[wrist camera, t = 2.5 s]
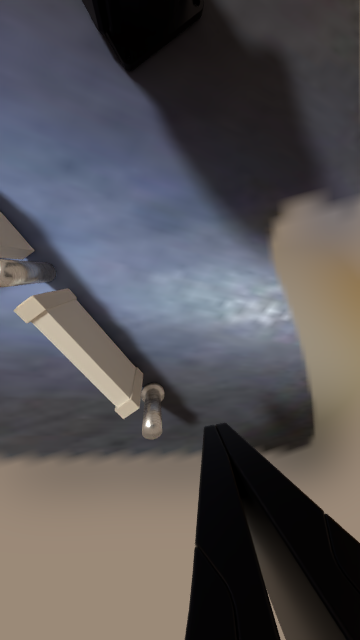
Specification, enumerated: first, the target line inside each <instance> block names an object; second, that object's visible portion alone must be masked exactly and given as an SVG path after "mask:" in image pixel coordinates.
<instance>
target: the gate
mask: <svg viewBox="0 0 360 640" xmlns="http://www.w3.org/2000/svg"><path fill="white" fill-rule="evenodd" d="M76 299H77V297H76V296H75V295H74V294H73V293H72V292H71V290H70V289H69V288H68V289H62V290H57V291H52V292H47V293H43V294H38V295H33V296H31V297H30V298H28V299H27V300H25V301H24V302H23V303H21V304H20V305H19V306H17V308H16V309H15V310H14V311H15V312H16V313H17V314H18V315H19V316H20V317H21V318H22V319H23V320H24V321H25V322H26V323H29V322H32V323H33V324H34V325H35V326H36V327H37V328H38V329H39V330H40V331H41V332H42V333H43V334H44V335H45V336H46V337H47V338H48V339H49V340H50V341H51V342H52V343H53V344H54V345H55V346H56V347H57V348H58V349H59V350H60V351H61V352H62V353H63V354H64V355H65V356H66V357H67V358H68V359H69V360H70V361H71V362H72V363H73V364H74V365H75V366H76V367H77V368H78V369H79V370H80V371H81V372H82V373H83V374H84V375H85V376H86V377H87V378H88V379H89V380H90V381H91V382H92V383H93V384H94V385H95V386H96V387H97V388H98V389H99V390H100V391H101V392H102V393H103V394H104V395H105V396H106V397H107V398H108V399H109V400H110V401H111V402H112V403H113V404H114V405H115V406H116V408H115V411H116V412H117V413H118V414H119V415H120V416H121V417H122V418H123V419H124V418H126V417H127V416H129V415H130V414H132V413H133V412H135V411H136V410H137V409H139V408H140V399H141V391H142V382H143V373H142V372H141V371H140V370H139V368H138V367H135V366H134V365H133V364H132V363H131V362H130V360H129V359H128V358H127V357H126V356H125V355H124V354H123V352H122V351H121V350H120V349H119V348H118V347H117V346H116V344H115V343H114V342H113V341H112V340H111V339H110V338H109V336H108V335H107V334H106V333H105V332H104V331H103V330H102V328H101V327H100V326H99V325H98V324H97V323H96V322H95V321H94V319H93V318H92V317H91V316H90V315H89V314H88V313H87V311H86V310H85V309H84V308H83V307H82V306H81V305H80V303H79V302H78V301H77V300H76Z"/></svg>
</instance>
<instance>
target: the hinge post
mask: <svg viewBox="0 0 360 640" xmlns="http://www.w3.org/2000/svg"><path fill="white" fill-rule="evenodd" d="M55 278H56V270H55V268H54V267H53V266H52V265H51V264H50V263H47V262H34V261H19V260H4V259H0V287H9V286H17V285H26V284H35V283H43V282H51V281H53V280H54V279H55Z"/></svg>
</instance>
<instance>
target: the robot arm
mask: <svg viewBox="0 0 360 640" xmlns="http://www.w3.org/2000/svg"><path fill="white" fill-rule="evenodd" d="M82 2H83V3H84V5H85V7H86V9H87V11H88V12H89V14H90V16H91V18H92V20H93V21H94V23H95V25H96V27H97V29H98V30H99V31H100V32H101V33H102V34H106V36H107V38H108V40H109V42H110V43H111V45H112V47H113V49H114V51H115V53H116V54H117V56H118V58H119V60H120V62H121V63H122V65H123V67H124V68H125V69H126V70H129V71H131V70H133V69H135V68H136V67H137V66H139V65H140V64H141V63H142V62H144V61H145V60H146V59H148V58H149V57H150V56H151V55H153V54H154V53H155V52H157V51H158V50H159V49H160V48H162V47H163V46H164V45H166V44H167V43H168V42H170V41H171V40H172V39H173V38H175V37H176V36H177V35H179V34H180V33H181V32H182V31H184V30H185V29H186V28H188V27H189V26H190V25H191V24H193V23H194V22H195V21H197V20H198V19H199V18H200V17H201V15H202V11H203V5H204V0H82ZM193 4H196V5H197V6H198V7H195V6H194V5H193ZM127 56H129V57H131V59H130V60H127V59H126V57H127ZM195 545H196V547H195V550H194V563H193V575H192V585H191V595H190V605H189V613H188V620H187V627H186V635H185V640H280V636H279V633H278V629H277V625H276V622H275V618H274V615H273V611H272V608H271V604H270V601H269V597H270V600H271V602H272V605H273V608H274V610H275V613H276V615H277V618H278V621H279V623H280V626H281V628H282V631H283V633H284V636H285V639H286V640H360V543H359V542H358V541H357V540H356V539H355V538H353V537H352V536H351V535H350V534H349V533H348V532H347V531H345V530H344V529H343V528H342V527H341V526H340V525H339V524H338V523H337V522H335V521H334V520H333V519H332V518H331V517H330V516H328V515H327V514H324V511H323V510H322V509H321V508H320V507H319V506H318V505H316V504H315V503H314V502H313V501H312V500H311V499H310V498H309V497H308V496H307V495H305V494H304V493H303V492H302V491H301V490H300V489H299V488H298V487H297V486H295V485H294V484H293V483H292V482H291V481H290V480H289V479H288V478H287V477H285V476H284V475H283V474H282V473H281V472H280V471H279V470H277V468H276V467H274V466H273V465H272V464H271V463H270V462H269V461H268V460H267V459H266V458H264V457H263V456H262V455H261V454H260V453H259V452H258V451H257V450H256V449H254V448H253V447H252V446H251V445H250V444H249V443H248V442H247V441H246V440H245V439H243V438H242V437H241V436H240V435H239V434H238V433H237V432H236V431H235V430H233V429H232V428H231V427H230V426H229V425H228V424H227V423H220V424H216V425H210V426H205V427H204V435H203V448H202V461H201V474H200V487H199V501H198V514H197V526H196V540H195ZM266 589H267V590H266ZM267 592H268V593H267ZM268 594H269V597H268Z"/></svg>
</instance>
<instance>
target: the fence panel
mask: <svg viewBox="0 0 360 640" xmlns="http://www.w3.org/2000/svg"><path fill="white" fill-rule="evenodd" d="M34 251H35V250H34V249H33V248H32V247H31V246H30V245H29V244H28V242H27V241H26V240H25V239H24V238H23V237H22V236H21V234H20V233H19V232H18V231H17V230H16V229H15V228H14V226H13V225H12V224H11V223H10V222H9V221H8V220H7V218H6V217H5V216H4V215H3V214H2V213H1V212H0V258H9V259H24V258H26V257H27V256H28V255H30V254H31V253H32V252H34Z"/></svg>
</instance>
